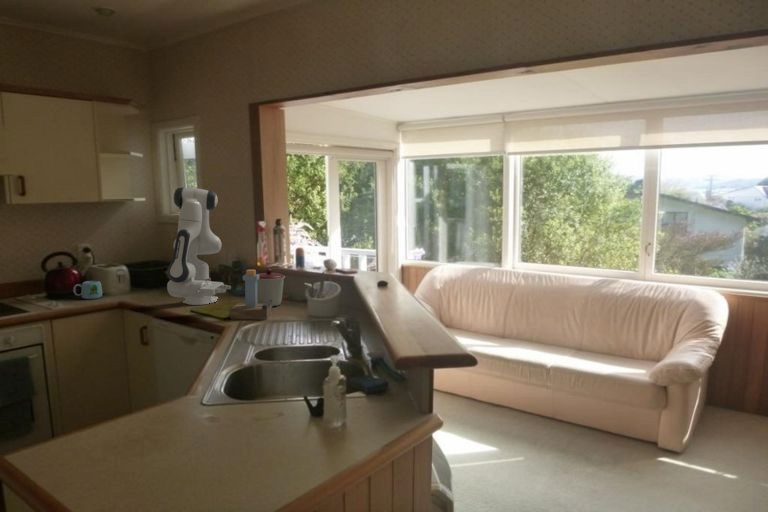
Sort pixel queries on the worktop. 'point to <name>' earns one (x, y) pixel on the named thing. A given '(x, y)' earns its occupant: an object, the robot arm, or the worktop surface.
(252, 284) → the cargo post
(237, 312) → the dock
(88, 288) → the mug
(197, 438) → the worktop surface
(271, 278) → the canister
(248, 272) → the cargo cube
